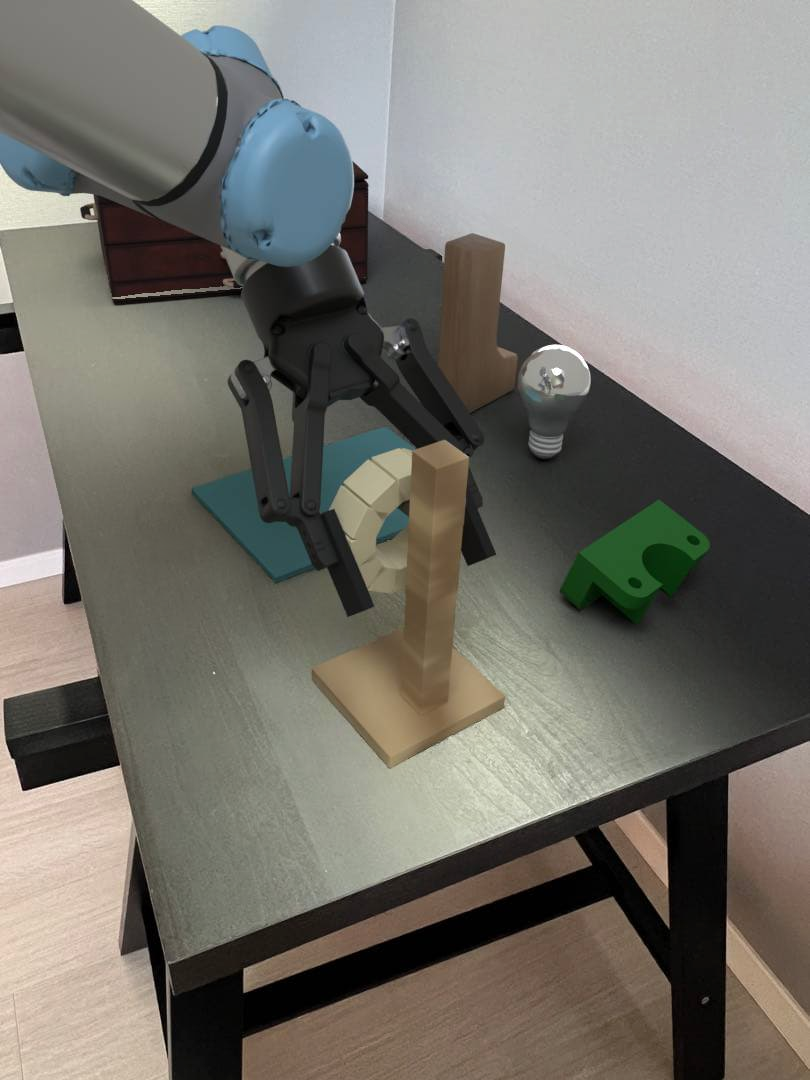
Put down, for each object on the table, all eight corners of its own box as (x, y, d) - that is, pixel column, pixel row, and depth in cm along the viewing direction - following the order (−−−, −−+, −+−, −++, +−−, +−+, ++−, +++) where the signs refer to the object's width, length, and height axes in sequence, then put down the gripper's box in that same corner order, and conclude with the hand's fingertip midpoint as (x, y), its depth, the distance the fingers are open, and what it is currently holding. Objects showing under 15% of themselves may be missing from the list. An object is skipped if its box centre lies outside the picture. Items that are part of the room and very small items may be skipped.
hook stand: (389, 769, 63) (400, 504, 50) (311, 679, 69) (303, 425, 57) (504, 707, 68) (540, 452, 55) (421, 629, 74) (436, 385, 61)
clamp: (610, 661, 78) (622, 618, 70) (556, 613, 81) (562, 566, 73) (705, 569, 81) (727, 518, 73) (651, 525, 84) (667, 471, 76)
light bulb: (551, 483, 92) (568, 371, 85) (494, 457, 96) (506, 347, 88) (591, 457, 96) (610, 348, 89) (535, 433, 100) (550, 326, 93)
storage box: (97, 314, 120) (78, 193, 111) (86, 253, 138) (69, 144, 129) (386, 288, 131) (389, 176, 122) (342, 235, 148) (342, 133, 139)
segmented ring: (350, 612, 61) (351, 495, 56) (326, 587, 63) (324, 472, 57) (460, 565, 65) (470, 453, 60) (434, 543, 67) (441, 433, 62)
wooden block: (484, 377, 110) (498, 221, 99) (515, 390, 108) (533, 232, 97) (433, 403, 104) (443, 241, 94) (465, 417, 102) (479, 253, 91)
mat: (275, 583, 78) (275, 577, 78) (191, 493, 88) (190, 487, 88) (482, 503, 89) (482, 497, 88) (385, 431, 99) (385, 426, 99)
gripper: (401, 265, 71) (519, 543, 70) (122, 326, 60) (256, 655, 59) (449, 213, 64) (579, 519, 63) (145, 271, 53) (297, 640, 53)
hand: (423, 585), depth 61 cm, fingers closed on segmented ring, 9 cm apart
